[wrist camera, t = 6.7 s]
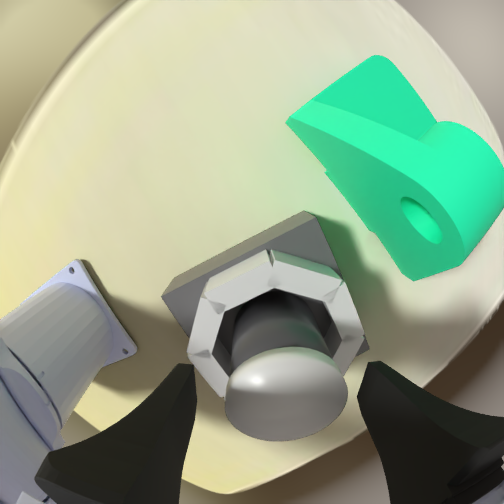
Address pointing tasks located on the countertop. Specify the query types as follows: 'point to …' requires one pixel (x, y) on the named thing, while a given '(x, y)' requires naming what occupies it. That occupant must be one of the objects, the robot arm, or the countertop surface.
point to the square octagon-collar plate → (261, 281)
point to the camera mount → (403, 167)
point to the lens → (281, 371)
